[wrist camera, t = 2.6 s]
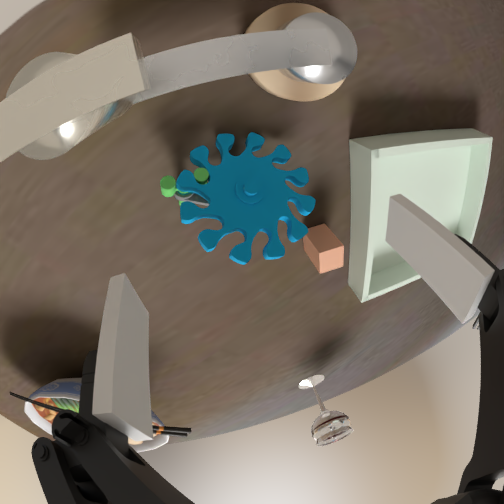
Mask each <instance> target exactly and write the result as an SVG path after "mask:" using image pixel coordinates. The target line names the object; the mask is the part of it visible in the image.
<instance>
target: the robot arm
mask: <svg viewBox="0 0 504 504" xmlns="http://www.w3.org/2000/svg"><path fill="white" fill-rule="evenodd" d="M385 241H386V242H387V243H388V244H389V245H390V246H391V247H392V248H393V249H394V250H395V251H396V252H397V253H398V254H399V255H400V256H401V257H402V258H403V259H404V260H405V261H406V262H407V263H408V264H409V265H410V266H411V267H412V268H413V269H414V270H415V271H416V272H417V273H418V274H419V275H420V276H421V277H422V278H423V280H424V281H425V282H426V283H427V284H428V285H429V286H430V287H431V288H432V289H433V290H434V292H435V293H436V294H437V295H438V296H439V297H440V298H441V299H442V301H443V302H444V303H445V304H446V305H447V306H448V307H449V309H450V310H451V311H452V312H453V313H454V315H455V316H456V317H457V318H458V319H459V321H460V322H461V323H462V324H463V323H464V322H466V321H467V320H469V319H470V318H472V317H473V315H474V313H475V311H476V309H477V307H478V308H479V310H480V313H479V315H478V317H477V319H476V321H475V322H474V324H473V329H475V327H476V325H477V324H478V322H479V326H478V328H477V329H479V330H480V346H481V389H480V404H479V415H478V424H477V433H476V439H475V446H474V451H473V456H472V459H471V461H470V462H469V464H468V465H467V466H466V468H465V470H464V472H463V475H462V478H461V482H460V486H459V490H458V493H457V495H453V496H450V497H448V498H442V499H438V500H436V501H435V502H433V503H431V504H504V486H503V491H499V490H495V489H492V486H493V484H494V482H495V481H496V480H497V479H498V478H501V477H503V476H504V269H502V270H499V269H498V268H497V267H496V266H495V265H494V264H493V263H492V262H491V261H490V260H489V259H488V258H486V257H485V256H484V255H483V254H482V253H481V252H480V251H479V252H478V249H476V248H475V247H474V246H472V244H471V243H469V242H468V241H467V240H466V239H465V238H463V237H461V236H459V235H457V234H453V233H452V232H451V231H450V230H448V229H447V228H446V227H445V226H443V225H442V224H441V223H440V222H438V221H437V220H436V219H434V218H433V217H432V216H431V215H429V214H428V213H427V212H425V211H424V210H423V209H421V208H420V207H418V206H417V205H416V204H414V203H413V202H412V201H410V200H409V199H407V198H406V197H405V196H403V195H402V194H397V195H394V196H390V198H389V210H388V221H387V230H386V239H385ZM82 374H83V376H82V381H81V383H82V385H81V390H80V400H79V413H78V414H77V413H76V412H74V411H72V410H69V409H66V410H62V411H60V412H59V413H57V415H56V416H55V418H54V419H53V422H52V435H53V438H54V439H56V440H55V441H51V440H50V439H48V438H45V437H41V438H38V439H37V440H36V441H35V442H34V444H33V446H32V458H33V462H34V465H35V468H36V471H37V474H38V478H39V481H40V483H41V486H42V489H43V492H44V494H45V496H46V499H47V502H48V504H195V503H193V502H192V501H191V500H189V499H188V498H187V497H185V496H184V495H183V494H182V493H181V492H179V491H178V490H177V489H176V488H174V487H173V486H172V485H171V484H170V483H169V482H168V481H166V480H165V479H164V478H163V477H162V476H161V475H160V474H159V473H158V472H156V471H155V470H154V469H153V468H152V467H151V466H150V465H149V464H148V463H147V462H146V461H145V460H144V459H143V458H142V457H141V456H140V455H139V454H138V453H137V452H136V451H135V450H134V449H133V448H132V447H131V446H129V444H128V437H129V438H131V439H132V440H134V441H146V440H154V439H153V429H152V417H151V402H150V383H149V313H148V311H147V310H146V308H145V306H144V305H143V303H142V301H141V300H140V298H139V296H138V295H137V293H136V291H135V290H134V288H133V286H132V284H131V283H130V281H129V279H128V277H127V276H126V274H125V273H123V274H120V275H117V276H113V277H111V278H110V282H109V287H108V292H107V297H106V302H105V307H104V313H103V318H102V324H101V331H100V337H99V344H98V350H93V351H89V353H88V355H87V357H86V359H85V361H84V365H83V372H82Z"/></svg>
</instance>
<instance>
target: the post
mask: <svg viewBox="0 0 504 504" xmlns="http://www.w3.org/2000/svg"><path fill="white" fill-rule="evenodd" d="M303 244H304V250H305V252H306V253H307V255H308V256H309V258H310V259H311V261H312V262H313V264H314V266H315V267H316V269H317V270H318V272H319V273H320V274H321V273H324V272H327V271H330V270H333V269H336V268H339V267H342V266H343V255H344V245H343V244H342V243H341V242H340V241H339V239H338V238H337V237H336V236H335V235H334V234H333V233H332V231H331V230H330V229H329V228H328V227H327V226H326V225H325V224H321V225H318V226H314V227H311V228H308V233H307V234H306V235H305V236H304V237H303Z"/></svg>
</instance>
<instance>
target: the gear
mask: <svg viewBox="0 0 504 504" xmlns="http://www.w3.org/2000/svg"><path fill="white" fill-rule="evenodd" d="M234 140H235V138H234V135H233V134H218V136H217V139H216V147H217V148H218V149H219V151H220V154H221V164H220V165H217V166H213V165H211V164H210V163H209V162H208V155H209V150H208V148H207V147H206V146H204V145H203V146H199V147H197V148H195V149H194V150H192V151H191V152H190V161H191V162H192V163H193V164H194V165H197V166H198V167H200V168H197V169H196V170H195V171H194V175H193V173H192V172H191V171H189V170H183V171H182V172H181V174H180V175H179V177H178V179H177V180H176V181H175V179H174V178H173V177H172V176H165V177H163V178H162V179H161V181H160V185H161V192H162V194H163V195H164V196H165V197H171V196H173V195H174V196H175V198H176V199H178V200H179V205H180V206H181V207H180V216H181V222H182V223H184V224H189V223H192V222H193V221H195V220H198V219H201V218H212V219H217V220H219V221H220V222H221V223H222V229H220V230H210V229H206V230H203V231H201V232H200V234H199V236H198V240H199V243H200V244H201V246H202V247H203V248H204V249H205V250H206V251H207V252H210V251H212V250H213V249H214V248H215V247H216V245H217V243H218V242H219V240H220V239H221V238H222V237H224V236H225V235H227V234H229V233H232V232H235V231H239V232H241V233H242V234H243V235H244V237H245V241H244V242H243V243H241V244H238V245H236V246H235V247H234V248H233V249H232V250H231V251H230V254H229V258H230V259H232V260H233V261H235V262H237V263H240V264H243V265H245V264H246V263H247V262H249V260H250V259H251V245H252V241H253V239H254V237H255V235H256V234H257V233H258V232H259V231H263V232H265V233H266V234H267V235H268V237H269V241H268V243H267V244H266V246H265V247H264V249H263V256H264V258H265V259H277V258H280V257H282V256H284V254H285V248H284V246H283V245H282V243H281V242H280V240H279V237H278V232H277V225H278V220H283V221H285V222H286V224H287V227H288V229H287V236H288V239H289V240H290V241H291V242H296V241H298V240H299V239H301V238H303V237H304V236H305V235H306V234H307V233H308V228H307V227H306V225H304V224H303V223H301V222H299V221H298V220H297V219H296V218H295V217H294V216H293V214H292V213H291V211H290V209H289V207H288V204H287V201H291V202H293V203H294V204H295V205H296V207H297V210H298V211H299V213H300V214H302V215H304V216H307V215H308V214H310V213H311V212H312V211H313V209H314V206H315V202H316V200H315V199H314V198H313V197H312V196H306V195H301V194H298V193H296V192H294V191H293V190H292V189H290V188H289V187H288V186H287V185H286V184H285V180H288V181H290V182H292V183H293V184H294V185H295V186H297V187H303V186H305V185H306V184H307V183H308V182H309V177H308V173H307V170H306V169H305V168H302V167H300V168H297V169H296V170H292V171H284V170H280V169H276V168H275V167H274V166H273V165H272V162H275V163H279V164H284V163H286V162H287V161H288V160H289V158H290V157H291V153H290V152H289V150H288V149H287V148H286V147H285V146H284V145H278V146H277V147H276V149H275V150H274V152H273V153H272V154H270V155H268V156H265V157H261V158H257V157H255V156H254V155H253V154H252V152H253V151H257V150H259V149H260V148H261V147H262V145H263V143H264V140H265V139H264V138H263V137H262V136H260V135H258V134H256V133H253V132H251V133H249V135H248V137H247V139H246V142H245V144H246V149H245V150H244V152H243V153H242V154H241V155H239V156H232V155H231V154H230V153H229V152H228V151H229V150H230V149H231V148H232V146H233V143H234ZM207 180H208V181H209V182H208V183H207ZM194 203H196V204H201V205H207V206H208V207H207V208H204V209H203V208H199V207H198V206H196V205H195V204H194Z"/></svg>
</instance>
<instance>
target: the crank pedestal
mask: <svg viewBox="0 0 504 504" xmlns="http://www.w3.org/2000/svg"><path fill="white" fill-rule="evenodd" d="M313 12H319V13H325V14H327V13H326V12H324V11H323V10H321V9H319V8H317V7H314V6H311V5H308V4H303V3H285V4H280V5H277V6H275V7H272V8H270V9H269V10H267V11H265V12H264V13H263V14H261V15H260V16H259V17H257V18H256V19H255V20H254V21H253V22H252V23H251V24H250V25H249V27H248V28H247V30H246V32H245V34H248V33H256V32H266V31H276V29H277V28H278V27H279V26H281V25H282V24H284V23H286V22H288V21H290V20H292V19H295V18H297V17H299V16H301V15H304V14H307V13H313ZM249 76H250V77H251V78H252V80H253V81H254V82H255V83H256V84H257V85H258V86H259V87H261V88H262V89H263V90H265V91H266V92H268V93H270V94H272V95H274V96H277V97H281V98H285V99H289V100H294V101H303V102H305V101H314V100H318V99H321V98H324V97H326V96H328V95H330V94H331V93H333V92H334V91H335V90H336V89H338V88H339V86H340V85H341V84H342V83H343V81H344V80H345V79H343V80H341V81H339V82H337V83H333V84H317V83H306V82H298V81H295V80H292V79H290V78H288V77H286V76H285V75H284V74H282V73H281V72H280V71H279V70H278V69H277V70H269V71H262V72H256V73H250V74H249Z"/></svg>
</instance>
